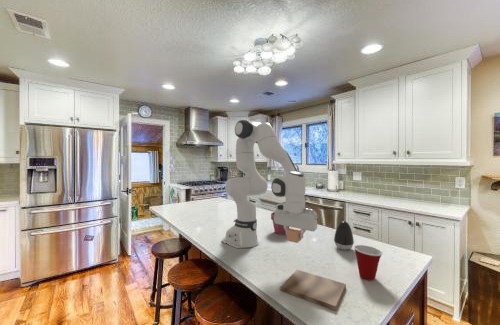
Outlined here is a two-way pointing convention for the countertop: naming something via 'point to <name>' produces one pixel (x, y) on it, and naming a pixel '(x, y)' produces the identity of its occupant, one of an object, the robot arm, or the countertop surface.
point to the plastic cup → (367, 261)
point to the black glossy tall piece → (343, 236)
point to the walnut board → (314, 289)
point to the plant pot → (278, 226)
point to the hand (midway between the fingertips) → (294, 236)
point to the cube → (293, 234)
